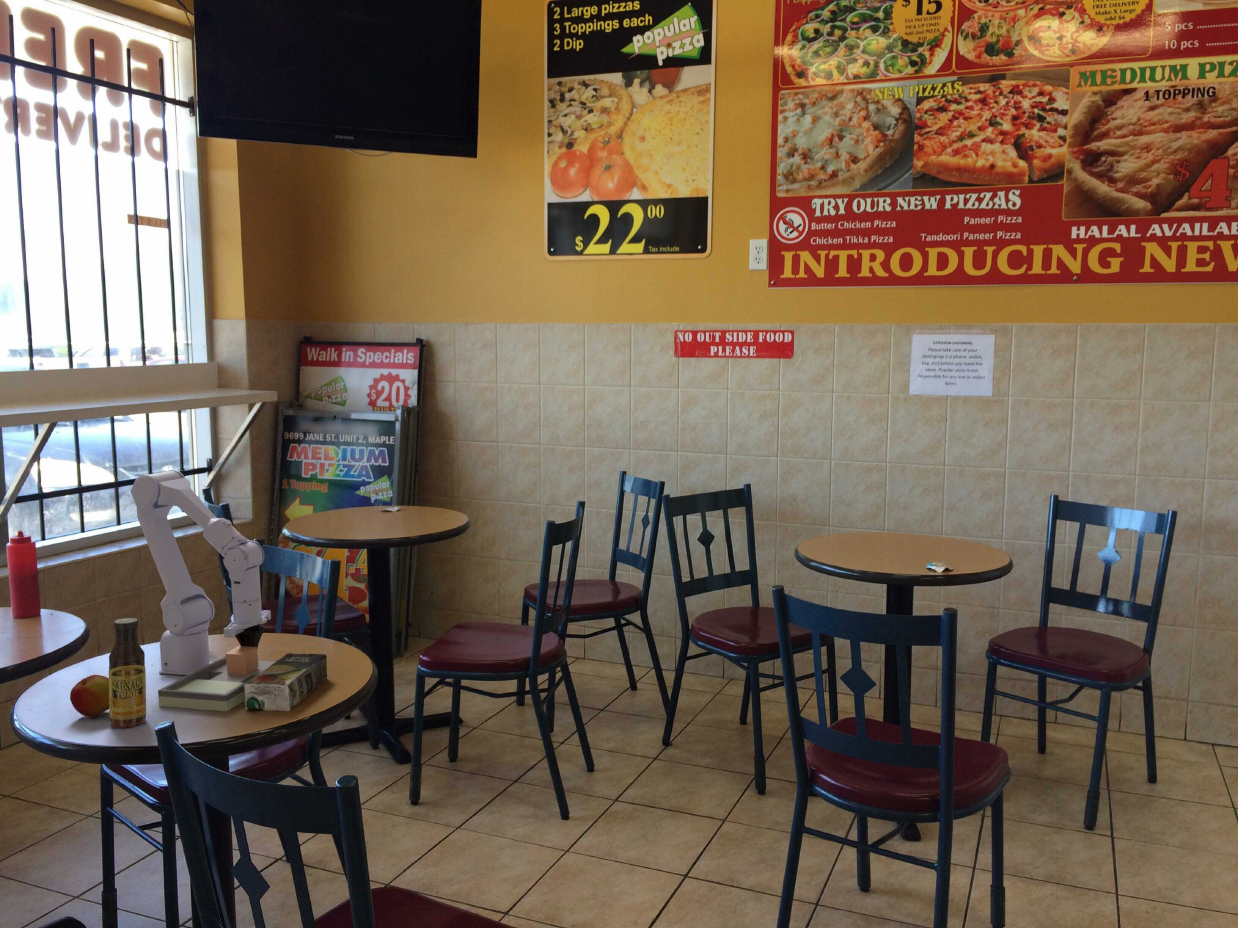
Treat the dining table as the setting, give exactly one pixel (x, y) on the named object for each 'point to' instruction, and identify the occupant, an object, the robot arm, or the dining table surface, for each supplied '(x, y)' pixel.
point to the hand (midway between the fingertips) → (250, 660)
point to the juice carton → (286, 682)
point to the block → (242, 660)
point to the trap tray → (209, 688)
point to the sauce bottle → (127, 676)
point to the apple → (91, 695)
